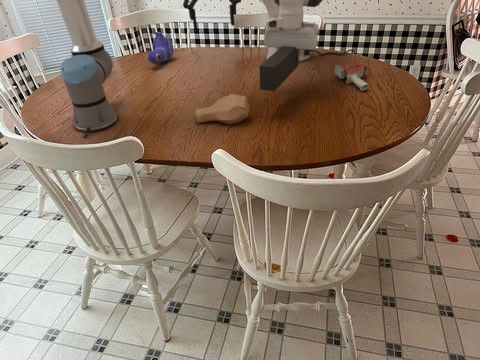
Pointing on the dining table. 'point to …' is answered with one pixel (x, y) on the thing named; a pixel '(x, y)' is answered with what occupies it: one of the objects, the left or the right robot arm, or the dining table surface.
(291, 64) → the bar
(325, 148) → the dining table surface
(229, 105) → the squash
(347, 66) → the tape dispenser
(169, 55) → the toy
